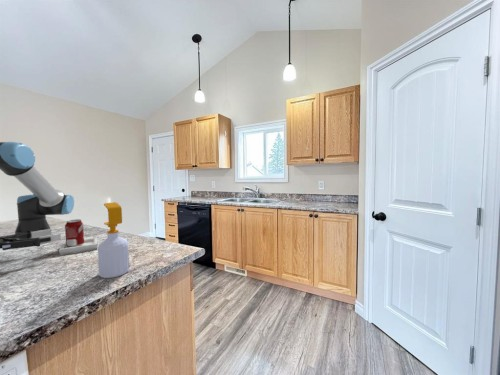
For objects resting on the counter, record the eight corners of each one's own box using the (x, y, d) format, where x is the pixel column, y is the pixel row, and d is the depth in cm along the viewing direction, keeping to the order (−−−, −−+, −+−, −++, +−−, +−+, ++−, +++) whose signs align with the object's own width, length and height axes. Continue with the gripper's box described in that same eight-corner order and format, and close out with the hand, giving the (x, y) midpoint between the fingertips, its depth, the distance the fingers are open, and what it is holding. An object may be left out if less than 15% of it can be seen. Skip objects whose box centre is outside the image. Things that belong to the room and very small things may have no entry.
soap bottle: (123, 265, 85) (120, 200, 84) (133, 271, 80) (131, 202, 78) (95, 273, 79) (92, 203, 77) (105, 281, 73) (101, 205, 71)
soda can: (76, 248, 103) (74, 222, 102) (62, 247, 103) (60, 222, 102) (87, 243, 109) (86, 219, 109) (74, 243, 110) (73, 219, 109)
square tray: (63, 247, 108) (63, 241, 107) (97, 242, 115) (97, 237, 115) (59, 255, 96) (59, 249, 96) (97, 249, 104) (97, 244, 104)
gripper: (-23, 250, 89) (48, 238, 106) (-16, 265, 74) (65, 248, 91) (-25, 231, 88) (47, 222, 105) (-18, 243, 74) (64, 229, 91)
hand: (55, 234), depth 98 cm, fingers open, 13 cm apart
